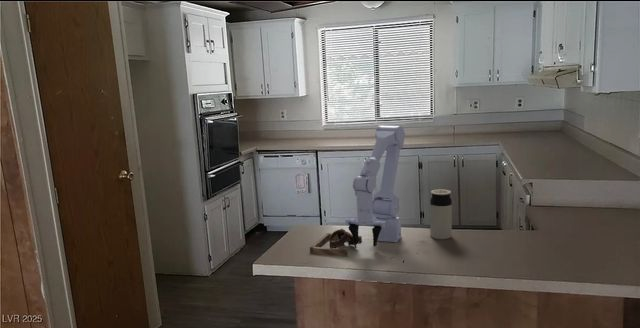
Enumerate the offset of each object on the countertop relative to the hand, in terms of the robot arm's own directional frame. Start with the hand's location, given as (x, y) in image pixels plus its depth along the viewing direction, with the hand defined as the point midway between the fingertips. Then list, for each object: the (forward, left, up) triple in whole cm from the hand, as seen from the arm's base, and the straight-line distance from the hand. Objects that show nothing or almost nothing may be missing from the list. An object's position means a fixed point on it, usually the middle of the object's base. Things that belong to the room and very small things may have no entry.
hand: (365, 244), depth 171 cm
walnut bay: (+11, 0, -2) cm, 11 cm away
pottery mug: (+9, +1, -2) cm, 9 cm away
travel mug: (-24, -22, -2) cm, 32 cm away
